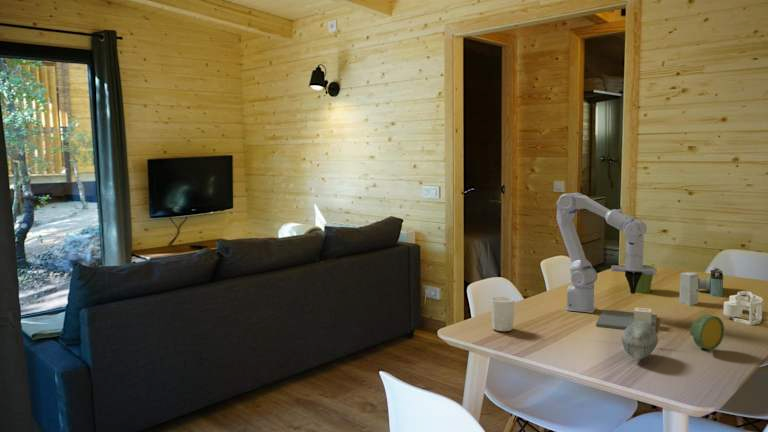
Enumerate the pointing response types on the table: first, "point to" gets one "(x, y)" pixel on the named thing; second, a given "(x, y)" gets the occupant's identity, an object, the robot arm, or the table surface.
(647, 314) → the white drawer cabinet
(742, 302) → the skeletal toy car
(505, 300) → the white cup
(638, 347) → the grey rounded piece
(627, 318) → the plate
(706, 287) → the camera
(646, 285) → the plant pot
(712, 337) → the decorative artifact
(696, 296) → the skincare box
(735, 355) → the table surface
